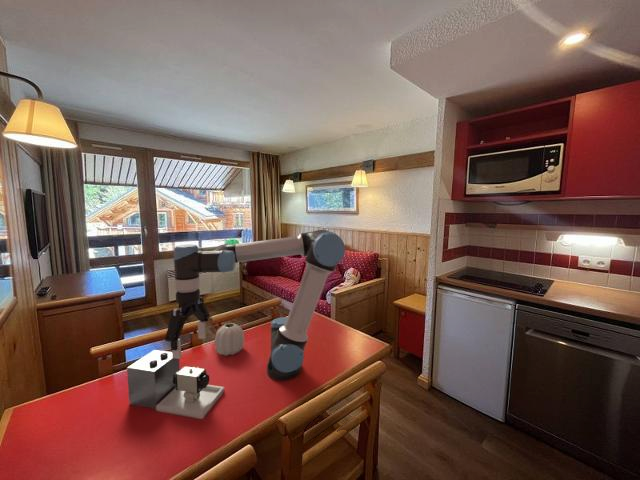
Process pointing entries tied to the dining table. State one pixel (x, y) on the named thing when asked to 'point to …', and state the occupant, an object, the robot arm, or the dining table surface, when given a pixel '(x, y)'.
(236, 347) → the vase
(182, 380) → the pneumatic valve
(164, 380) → the control box
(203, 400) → the parts tray
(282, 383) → the dining table surface
